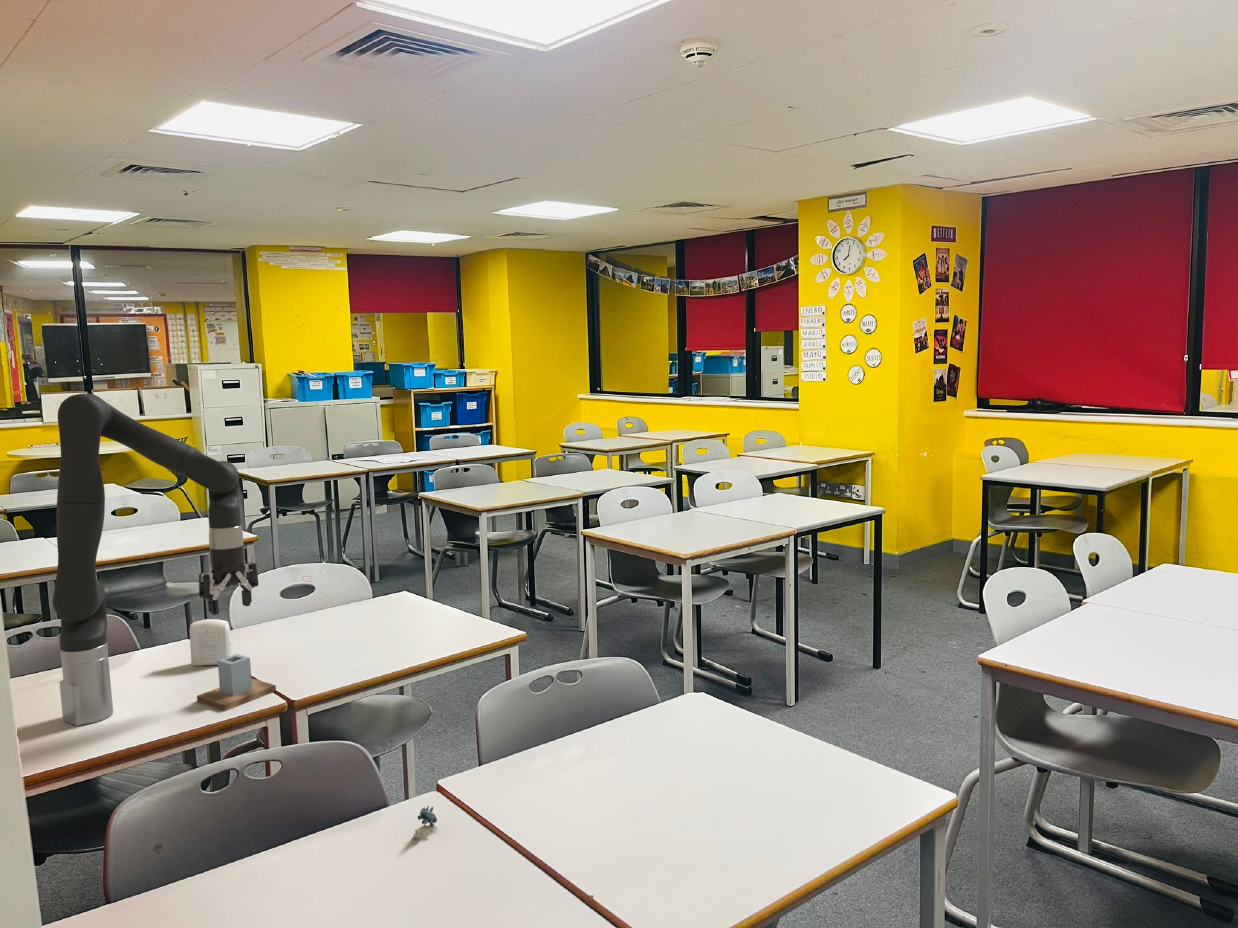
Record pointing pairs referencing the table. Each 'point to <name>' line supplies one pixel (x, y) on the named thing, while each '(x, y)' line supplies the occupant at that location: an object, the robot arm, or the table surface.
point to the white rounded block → (209, 641)
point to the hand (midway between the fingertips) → (231, 609)
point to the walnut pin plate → (228, 701)
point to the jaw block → (234, 674)
